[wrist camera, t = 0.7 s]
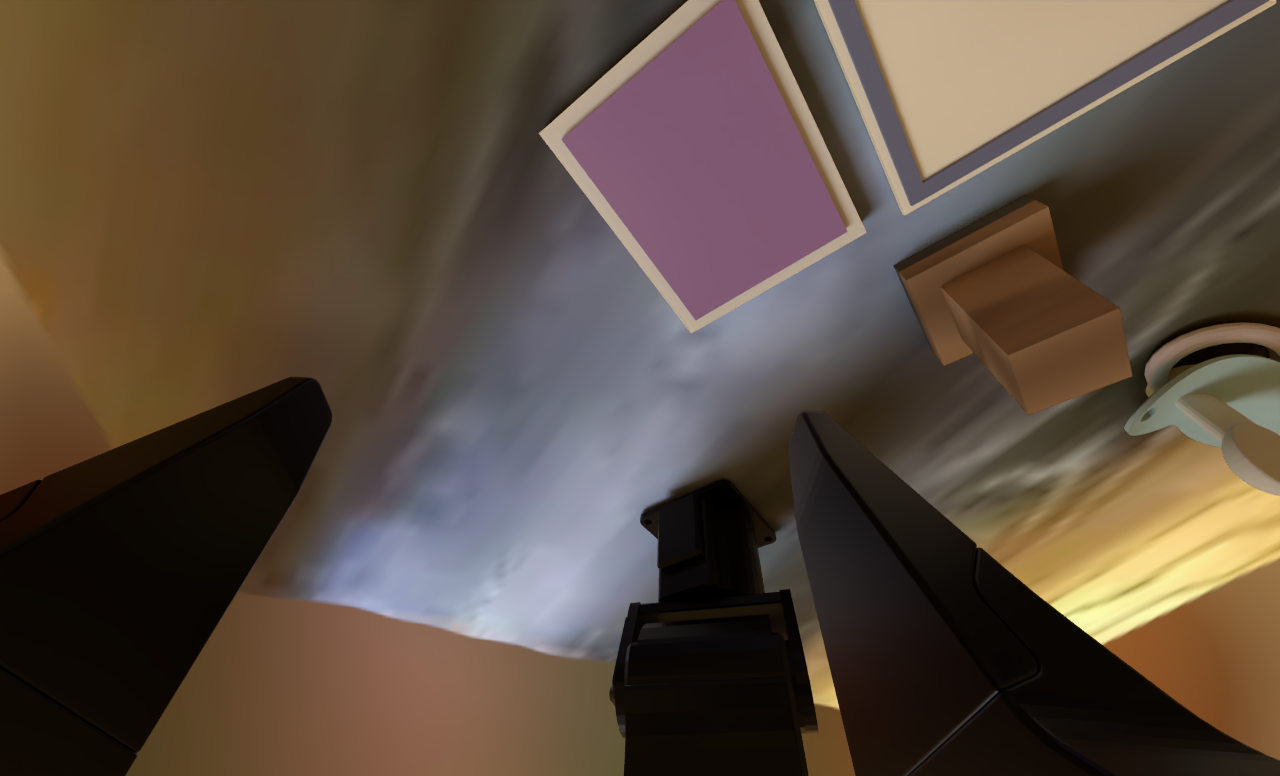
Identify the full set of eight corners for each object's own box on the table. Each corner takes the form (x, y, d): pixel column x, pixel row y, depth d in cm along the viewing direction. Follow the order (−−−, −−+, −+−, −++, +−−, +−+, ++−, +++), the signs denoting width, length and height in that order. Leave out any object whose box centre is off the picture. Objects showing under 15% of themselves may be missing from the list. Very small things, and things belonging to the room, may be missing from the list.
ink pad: (859, 224, 20) (869, 235, 19) (690, 323, 23) (691, 337, 22) (734, -42, 15) (739, -45, 14) (544, 128, 18) (537, 135, 17)
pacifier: (1169, 305, 21) (1080, 412, 25) (1325, 388, 16) (1186, 508, 20) (1327, 328, 22) (1217, 430, 25) (1529, 417, 17) (1356, 530, 20)
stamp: (1050, 292, 21) (1173, 382, 16) (930, 347, 23) (1004, 444, 18) (1024, 194, 19) (1157, 263, 14) (893, 265, 21) (965, 348, 16)
